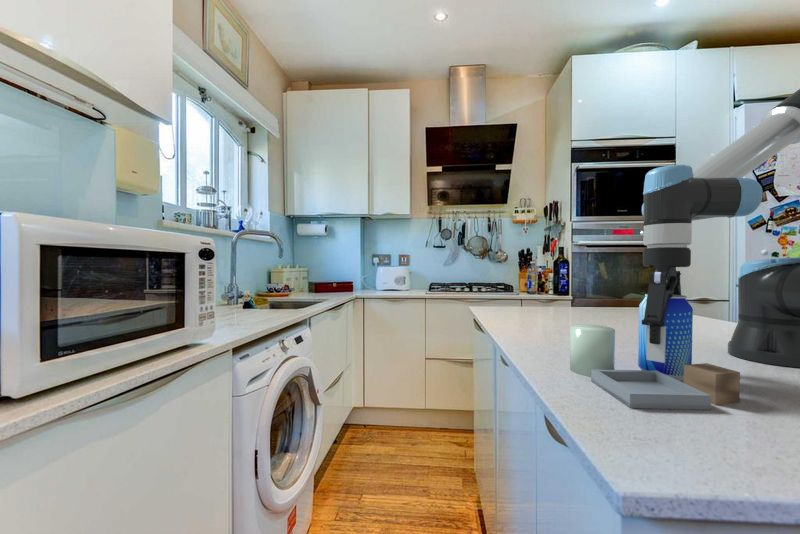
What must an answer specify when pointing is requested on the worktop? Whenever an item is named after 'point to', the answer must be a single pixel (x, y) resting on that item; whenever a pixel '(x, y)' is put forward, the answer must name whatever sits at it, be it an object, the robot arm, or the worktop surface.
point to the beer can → (670, 338)
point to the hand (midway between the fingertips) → (664, 354)
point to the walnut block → (714, 382)
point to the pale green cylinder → (591, 348)
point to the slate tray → (650, 390)
